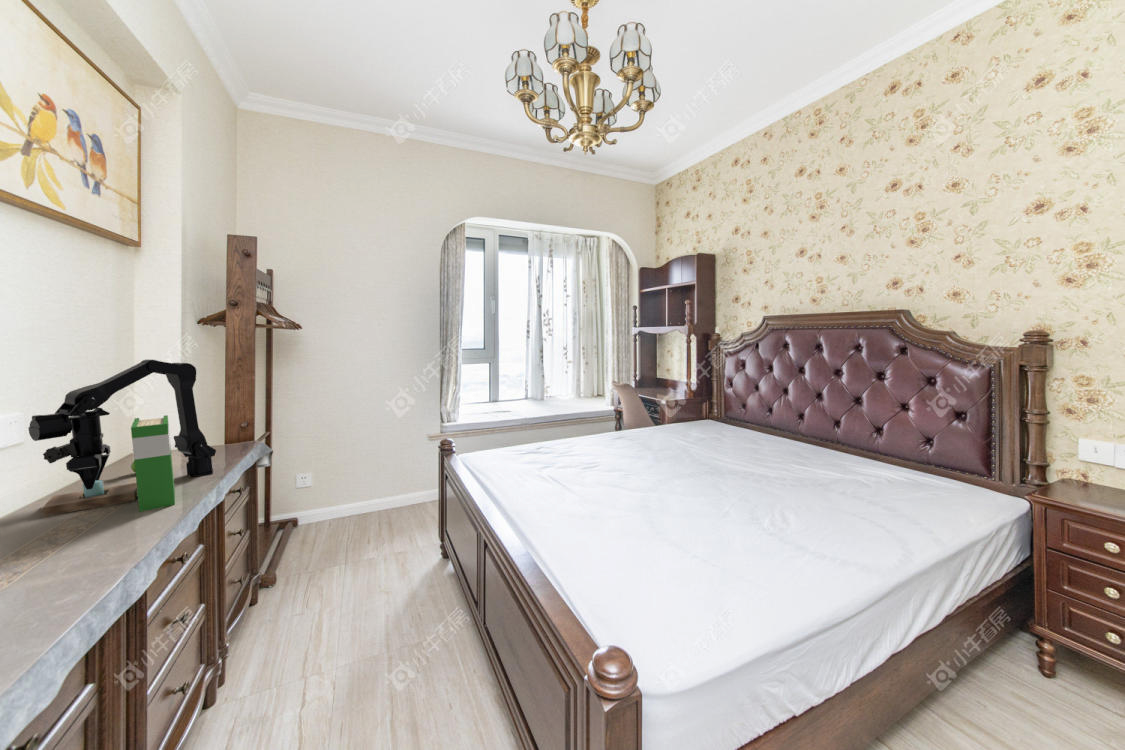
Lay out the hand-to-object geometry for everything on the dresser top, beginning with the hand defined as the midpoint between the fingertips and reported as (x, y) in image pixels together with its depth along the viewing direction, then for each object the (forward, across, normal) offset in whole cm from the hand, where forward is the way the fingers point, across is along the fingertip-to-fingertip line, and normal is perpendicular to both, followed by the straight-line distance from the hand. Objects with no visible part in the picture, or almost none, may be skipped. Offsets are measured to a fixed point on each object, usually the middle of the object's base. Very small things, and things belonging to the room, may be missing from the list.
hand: (92, 484), depth 127 cm
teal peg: (+5, 0, 0) cm, 5 cm away
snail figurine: (+6, -28, +8) cm, 30 cm away
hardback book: (+6, +9, +14) cm, 18 cm away
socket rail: (+5, 0, 0) cm, 5 cm away
